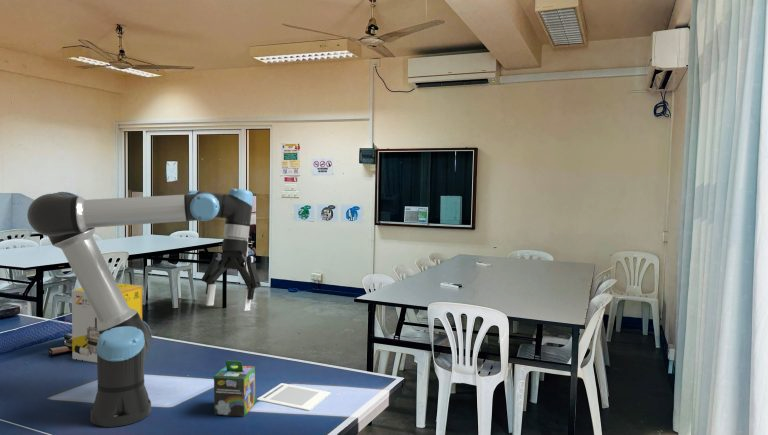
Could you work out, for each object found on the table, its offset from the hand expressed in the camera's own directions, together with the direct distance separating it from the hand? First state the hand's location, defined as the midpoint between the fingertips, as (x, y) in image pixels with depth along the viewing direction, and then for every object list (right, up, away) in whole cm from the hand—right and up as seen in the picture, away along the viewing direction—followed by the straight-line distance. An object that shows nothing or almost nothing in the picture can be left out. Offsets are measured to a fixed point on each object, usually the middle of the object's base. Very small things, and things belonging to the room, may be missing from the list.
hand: (227, 308), depth 164 cm
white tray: (+21, -27, +1) cm, 34 cm away
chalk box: (+5, -28, -9) cm, 30 cm away
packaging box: (-54, -23, +33) cm, 67 cm away
